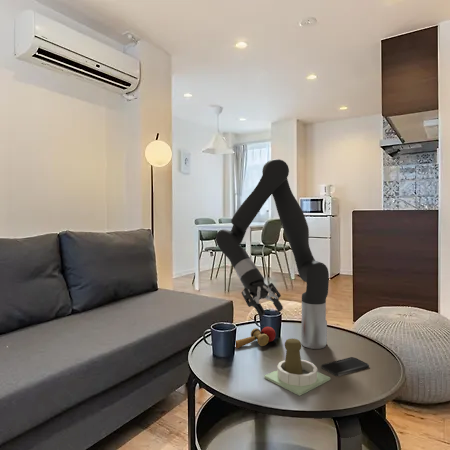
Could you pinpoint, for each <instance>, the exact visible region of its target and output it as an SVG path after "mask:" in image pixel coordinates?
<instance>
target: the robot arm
mask: <svg viewBox="0 0 450 450" xmlns="http://www.w3.org/2000/svg"><path fill="white" fill-rule="evenodd" d="M261 173H262V174H261V178H260V179H259V181H258V183H257V185H256V186H255V188H254V189H253V190H252V191H251V193H250V194H249V196H247V198H245V200H244V201H243V202H242V203H241V205H240V206H239V207H238V209H237V210H236V212H235V214H234V215H233V216H232V218H231V221H230V223H231V224H232V227H231V229H230V230H229V229H220V230H219V231H217V232H216V236H215V243H216V245H217V247H218V249H220V251H221V252H222V253H223V254H224V256H225V257H226V258H227V259H228V260H229V262H230V264H231V265H232V267H233V269H234V270H235V271H234V272H235V273H236V275H237V276H238V278H239V281H240V282H241V284H242V285H243V287H244V289H243V290H242V291H241V296H242V297H243V300H245V303H246V305H247V306H248V308H251V307H252V308H254V309H255V311H256V312H257V314H258V315H259V316H260V317H263V316H265V314H266V311H265V310H264V308H263V305H261V303H260V300H262V299H265V300H267V301H270V302H271V303H272V304H273V306H274V307H275V308H276V311H277V312H278V313H279V312H282V310H283V309H284V307H283V304H282V303H281V302H280V300H279V299H280V297H282V295H281V293H280V292H279V290H278V288H277V287H276V286H275V285H274V283H273V282H271V283H269V284H266V283H265V279H264V276H263V274H262V273H261V271H260V270H259V268H258V267H257V265H256V264H255V262H254V261H253V260H252V259H251V257H250V256H249V253H248V252H247V251H246V250H245V249H244V248H243V247H241V246H240V245H241V244H242V242H243V240H244V238H245V235H246V233H247V230H248V228H249V227H250V225H251V224H252V223H253V221H254V219H256V217H257V215H258V213H259V212H260V211H261V209H262V208H263V206H264V205H265V203H266V202H267V200H269V198H270V196H272V197H273V200H274V204H275V208H276V211H277V214H278V217H279V221H280V224H281V226H282V230H283V232H284V234H285V237H286V240H287V242H288V243H289V246H290V248H291V252H292V254H293V257H294V261H295V265H296V269H297V272H298V276H299V277H300V279H301V280H302V281H304V282H305V283H306V286H305V287H306V289H305V292H302V294H301V346H303V347H305V348H307V349H312V350H313V349H314V350H319V349H324V348H326V345H327V344H328V342H327V341H328V338H327V337H328V321H327V313H326V311H327V297H328V295H329V281H330V273H329V272H330V271H329V268H328V266H327V265H326V264H325V263H323V262H321V261H318V260H317V261H316V259H315V257H314V256H313V253H312V251H311V247H310V243H309V241H310V233H309V231H310V230H309V225H308V222H307V219H306V217H305V214H304V212H303V209H302V208H301V205H300V203H299V202H298V200H297V199H296V198H295V197H296V196H294V193H293V192H292V190H291V187H290V184H289V180H288V177H289V173H290V168H289V165H288V163H286V161H285V160H282V159H279V158H273V159H271V160H268V161H267V162H265V164H264V165H263V167H262V172H261Z"/></svg>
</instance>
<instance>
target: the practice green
mask: <svg viewBox="0 0 450 450" xmlns="http://www.w3.org/2000/svg"><path fill="white" fill-rule="evenodd" d="M301 364H302V371H303V374H301V375H298V374H291V373H288V372H286V371H284V367H285V359H284V360H282V361H279V362H278V364H277V366H276V368H277V370H274V371H272V372H269V373H267V374H265V375H264V377H263V378H264V379H265V380H268V381H269V382H272V383H273V384H276V385H278V386H279V387H282V388H283V389H285V390H287V391H289V392H291V393H292V394H295V395H297V396H302V395H304V394H306V393H307V392H309V391H311V390H314V389H315V388H317V387H319V386H321V385H323V384H325V383H326V382H328V381H331V376H328V375H327V374H323V373H321V372H318V367H317V365H315V364H314V363H313V362H311V361H308V360H305V359H301Z"/></svg>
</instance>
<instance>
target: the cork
mask: <svg viewBox="0 0 450 450" xmlns="http://www.w3.org/2000/svg"><path fill="white" fill-rule="evenodd" d="M284 349H285V350H286V351H285V352H286V353H285V359H284V360H285V367H284V371H286V372H288V373H291V374H298V375H301V374H303V371H302V364H301V360H302V359H301V358H302V357H301V353H300V351H301V350H302V341H300V340H299V339H297V338H291V337H290V338H288V339H286V340H285V341H284Z"/></svg>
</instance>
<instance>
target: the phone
mask: <svg viewBox="0 0 450 450" xmlns="http://www.w3.org/2000/svg"><path fill="white" fill-rule="evenodd" d="M369 367H370V364H369V363H367V362H365V361H363V360H360V359H358V358H357V357H354V356H350V357H346V358H342V359H338V360H334V361H330V362H327V363H323V364H321V369H322V370H324V371H326V372H328V373H329V374H331V375H333V376H335V377H342V376H345V375H347V374H351V373H355V372H359V371H363V370H366V369H369Z"/></svg>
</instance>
